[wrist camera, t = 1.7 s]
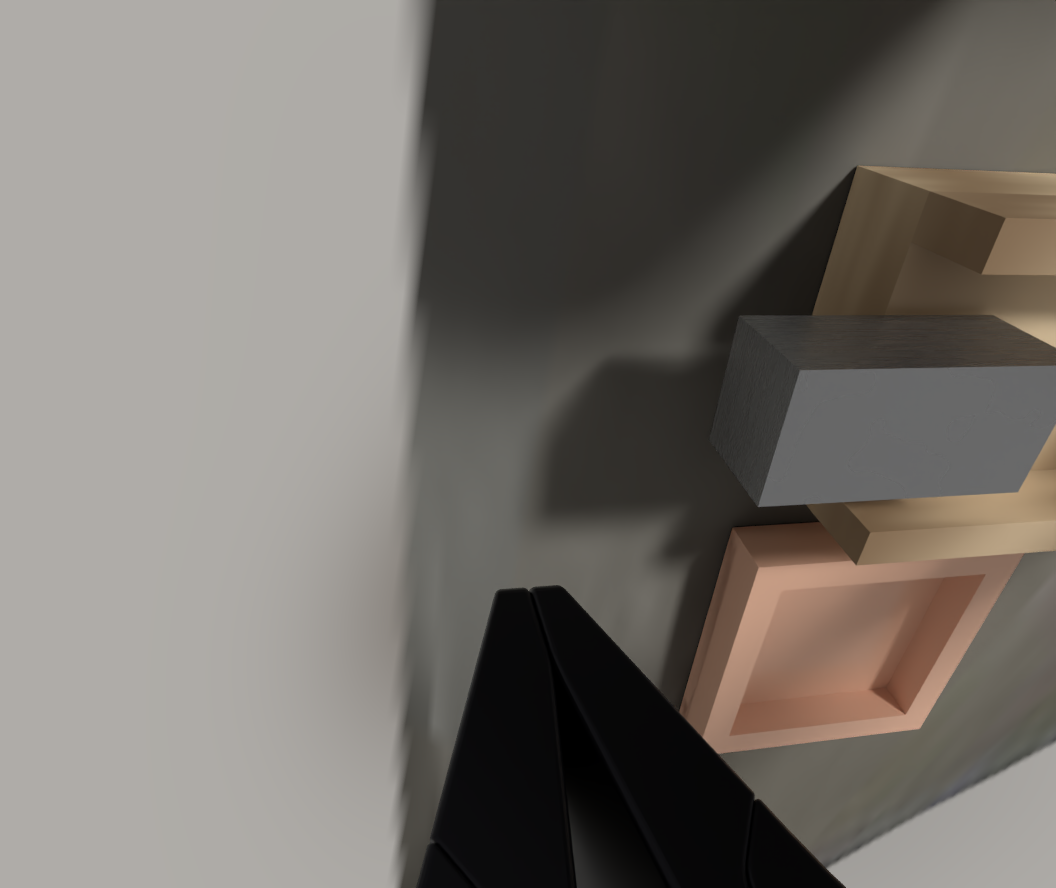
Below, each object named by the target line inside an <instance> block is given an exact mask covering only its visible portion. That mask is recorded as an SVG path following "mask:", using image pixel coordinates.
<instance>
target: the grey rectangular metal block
mask: <svg viewBox="0 0 1056 888" xmlns="http://www.w3.org/2000/svg"><path fill="white" fill-rule="evenodd" d="M1055 425H1056V348H1055V347H1053V346H1051V345H1049V344H1047V343H1046V342H1044V341H1042V340H1040V339H1038V338H1036V337H1034V336H1032V335H1030V334H1028V333H1026V332H1024V331H1023V330H1021V329H1019V328H1017V327H1015V326H1013V325H1011V324H1009V323H1007V322H1005V321H1003V320H1001V319H999V318H998V317H996V316H994V315H750V316H739V318H738V322H737V326H736V331H735V335H734V339H733V343H732V347H731V351H730V355H729V359H728V363H727V367H726V371H725V376H724V380H723V384H722V388H721V392H720V396H719V400H718V404H717V408H716V412H715V416H714V421H713V425H712V429H711V433H710V437H709V441H710V442H711V443H712V445H713V446H714V448H715V449H716V450H717V452H718V453H719V454H720V456H721V457H722V459H723V460H724V461H725V463H726V464H727V465H728V467H729V468H730V470H731V471H732V472H733V474H734V475H735V476H736V478H737V479H738V481H739V482H740V483H741V485H742V486H743V487H744V489H745V490H746V491H747V493H748V494H749V496H750V497H751V498H752V500H753V501H754V502H755V504H756V505H757V507H767V506H785V505H803V504H820V503H838V502H856V501H874V500H891V499H909V498H927V497H944V496H962V495H980V494H997V493H1015V492H1018V491H1019V489H1020V488H1021V486H1022V484H1023V482H1024V480H1025V479H1026V477H1027V475H1028V473H1029V471H1030V470H1031V468H1032V466H1033V464H1034V462H1035V461H1036V459H1037V457H1038V455H1039V454H1040V452H1041V450H1042V448H1043V446H1044V445H1045V443H1046V441H1047V439H1048V437H1049V436H1050V434H1051V432H1052V430H1053V428H1054V427H1055Z"/></svg>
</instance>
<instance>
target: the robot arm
mask: <svg viewBox="0 0 1056 888" xmlns="http://www.w3.org/2000/svg"><path fill="white" fill-rule="evenodd" d="M754 799H755V794H754V792H753V791H752V790H751V789H750V788H749V787H748V786H747V785H746V784H745V783H744V782H743V780H742V779H741V778H740V777H739V776H738V775H737V774H736V773H735V772H734V771H733V770H732V769H731V768H730V766H729V765H728V764H727V763H726V762H725V761H724V760H723V759H722V758H721V757H720V756H719V755H718V753H717V752H716V751H715V750H714V749H713V748H712V747H711V746H710V745H709V744H708V743H707V742H706V741H705V739H704V738H703V737H702V736H701V735H700V734H699V733H698V732H697V731H696V730H695V729H694V728H693V727H692V725H691V724H690V723H689V722H688V721H687V720H686V719H685V718H684V717H683V716H682V715H681V714H680V713H679V711H678V710H677V709H676V708H675V707H674V706H673V705H672V704H671V703H670V702H669V701H668V700H667V698H666V697H665V696H664V695H663V694H662V693H661V692H660V691H659V690H658V689H657V688H656V687H655V686H654V684H653V683H652V682H651V681H650V680H649V679H648V678H647V677H646V676H645V675H644V674H643V673H642V672H641V670H640V669H639V668H638V667H637V666H636V665H635V664H634V663H633V662H632V661H631V660H630V659H629V657H628V656H627V655H626V654H625V653H624V652H623V651H622V650H621V649H620V648H619V647H618V646H617V645H616V643H615V642H614V641H613V640H612V639H611V638H610V637H609V636H608V635H607V634H606V633H605V632H604V631H603V629H602V628H601V627H600V626H599V625H598V624H597V623H596V622H595V621H594V620H593V619H592V618H591V616H590V615H589V614H588V613H587V612H586V611H585V610H584V609H583V608H582V607H581V606H580V605H579V604H578V602H577V601H576V600H575V599H574V598H573V597H572V596H571V595H570V594H569V593H568V592H567V591H566V590H565V589H564V588H563V587H561V586H559V585H554V586H540V587H533V588H532V589H530V591H528V590H527V589H526V588H512V589H500V590H498V591H497V592H496V593H495V596H494V599H493V603H492V607H491V611H490V614H489V618H488V622H487V626H486V629H485V633H484V637H483V641H482V644H481V648H480V652H479V656H478V659H477V663H476V667H475V671H474V674H473V678H472V682H471V686H470V689H469V693H468V697H467V701H466V704H465V708H464V712H463V716H462V720H461V723H460V727H459V731H458V735H457V738H456V742H455V746H454V750H453V753H452V757H451V761H450V765H449V768H448V772H447V776H446V780H445V783H444V787H443V791H442V795H441V798H440V802H439V806H438V810H437V813H436V817H435V821H434V825H433V828H432V832H431V836H430V844H429V845H428V846H427V849H426V853H425V857H424V860H423V864H422V868H421V872H420V876H419V879H418V883H417V887H416V888H846V887H845V886H844V885H843V884H842V883H841V882H840V881H838V879H836V878H835V877H834V876H833V875H832V874H831V873H830V872H829V871H828V870H827V869H826V868H825V867H824V866H823V865H822V864H821V863H820V862H819V861H818V860H817V859H816V858H815V856H814V855H813V854H812V853H811V852H810V851H809V850H808V849H807V848H806V847H805V846H804V845H803V844H802V843H801V842H800V841H799V840H798V839H797V838H796V837H795V836H794V835H793V834H792V833H791V832H790V831H789V830H788V829H787V828H786V827H785V825H784V824H783V823H782V822H781V821H780V820H779V819H778V818H777V817H776V816H775V815H774V814H773V813H772V811H771V810H770V809H769V808H768V807H767V806H766V805H765V804H764V803H763V802H762V801H761V800H760V799H756V800H755V801H754Z"/></svg>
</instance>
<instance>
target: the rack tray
mask: <svg viewBox="0 0 1056 888" xmlns="http://www.w3.org/2000/svg"><path fill="white" fill-rule="evenodd" d="M1023 555H1024V553H1017V554H1004V555H990V556H977V557H964V558H950V559H937V560H924V561H910V562H897V563H884V564H870V565H857V566H856V565H855V564H854V562H853V561H852V560H851V559H850V557H849V556H848V555H847V554H846V553H845V551H844V550H843V549H842V548H841V547H840V545H839V544H838V543H837V542H836V541H835V539H834V538H833V537H832V536H831V535H830V533H829V532H828V531H827V530H826V528H825V527H824V526H823V525H822V524H821V522H812V523H796V524H780V525H764V526H748V527H733V528H732V531H731V534H730V538H729V541H728V545H727V548H726V552H725V555H724V559H723V562H722V565H721V569H720V572H719V576H718V579H717V583H716V586H715V590H714V593H713V597H712V600H711V603H710V607H709V610H708V614H707V617H706V621H705V624H704V628H703V631H702V635H701V638H700V641H699V645H698V648H697V652H696V655H695V659H694V662H693V666H692V669H691V672H690V676H689V679H688V683H687V686H686V690H685V693H684V697H683V700H682V704H681V707H680V710H679V713H680V714H681V715H682V716H683V717H684V718H685V719H686V720H687V721H688V722H689V723H690V724H691V725H692V727H693V728H694V729H695V730H696V731H697V732H698V733H699V734H700V735H701V736H702V737H703V738H704V739H705V741H706V742H707V743H708V744H709V745H710V746H711V747H712V748H713V749H714V750H715V751H716V752H717V753H718V754H721V753H729V752H737V751H745V750H753V749H761V748H769V747H777V746H785V745H793V744H801V743H809V742H817V741H825V740H833V739H841V738H849V737H857V736H865V735H873V734H881V733H889V732H897V731H905V730H913V729H920V727H921V726H922V724H923V722H924V721H925V719H926V717H927V716H928V714H929V712H930V711H931V709H932V707H933V706H934V704H935V702H936V701H937V699H938V697H939V695H940V694H941V692H942V690H943V689H944V687H945V685H946V684H947V682H948V680H949V679H950V677H951V675H952V674H953V672H954V670H955V669H956V667H957V665H958V664H959V662H960V660H961V659H962V657H963V655H964V654H965V652H966V650H967V649H968V647H969V645H970V644H971V642H972V640H973V639H974V637H975V635H976V634H977V632H978V630H979V629H980V627H981V625H982V624H983V622H984V620H985V619H986V617H987V615H988V614H989V612H990V610H991V609H992V607H993V605H994V604H995V602H996V600H997V599H998V597H999V595H1000V594H1001V592H1002V590H1003V589H1004V587H1005V585H1006V583H1007V582H1008V580H1009V578H1010V577H1011V575H1012V573H1013V572H1014V570H1015V568H1016V567H1017V565H1018V563H1019V562H1020V560H1021V558H1022V557H1023Z"/></svg>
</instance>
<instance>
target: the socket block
mask: <svg viewBox="0 0 1056 888" xmlns="http://www.w3.org/2000/svg"><path fill="white" fill-rule="evenodd" d="M812 315H994V316H996V317H998V318H999V319H1001V320H1003V321H1005V322H1007V323H1009V324H1011V325H1013V326H1015V327H1017V328H1019V329H1021V330H1023V331H1024V332H1026V333H1028V334H1030V335H1032V336H1034V337H1036V338H1038V339H1040V340H1042V341H1044V342H1046V343H1047V344H1049V345H1051V346H1053V347H1055V348H1056V174H1051V173H1026V172H1001V171H977V170H952V169H928V168H903V167H878V166H857V169H856V172H855V175H854V179H853V182H852V185H851V189H850V192H849V195H848V198H847V202H846V205H845V208H844V212H843V215H842V218H841V221H840V225H839V228H838V231H837V235H836V238H835V241H834V244H833V248H832V251H831V254H830V258H829V261H828V264H827V267H826V271H825V274H824V277H823V281H822V284H821V287H820V290H819V294H818V297H817V300H816V304H815V307H814V310H813V313H812ZM806 506H807V507H808V508H809V509H810V510H811V512H812V513H813V514H814V515H815V516H816V518H817V519H818V520H819V521H820V522H821V524H822V525H823V526H824V527H825V528H826V530H827V531H828V532H829V533H830V535H831V536H832V537H833V538H834V539H835V541H836V542H837V543H838V544H839V545H840V547H841V548H842V549H843V550H844V551H845V553H846V554H847V555H848V556H849V557H850V559H851V560H852V561H853V562H854V564H855V565H856V566H857V565H870V564H884V563H897V562H910V561H924V560H937V559H950V558H964V557H977V556H990V555H1004V554H1017V553H1030V552H1044V551H1056V425H1055V427H1054V428H1053V430H1052V432H1051V434H1050V436H1049V437H1048V439H1047V441H1046V443H1045V445H1044V446H1043V448H1042V450H1041V452H1040V454H1039V455H1038V457H1037V459H1036V461H1035V462H1034V464H1033V466H1032V468H1031V470H1030V471H1029V473H1028V475H1027V477H1026V479H1025V480H1024V482H1023V484H1022V486H1021V488H1020V489H1019V491H1018V492H1015V493H997V494H980V495H962V496H944V497H927V498H909V499H891V500H874V501H856V502H838V503H820V504H806Z"/></svg>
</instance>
